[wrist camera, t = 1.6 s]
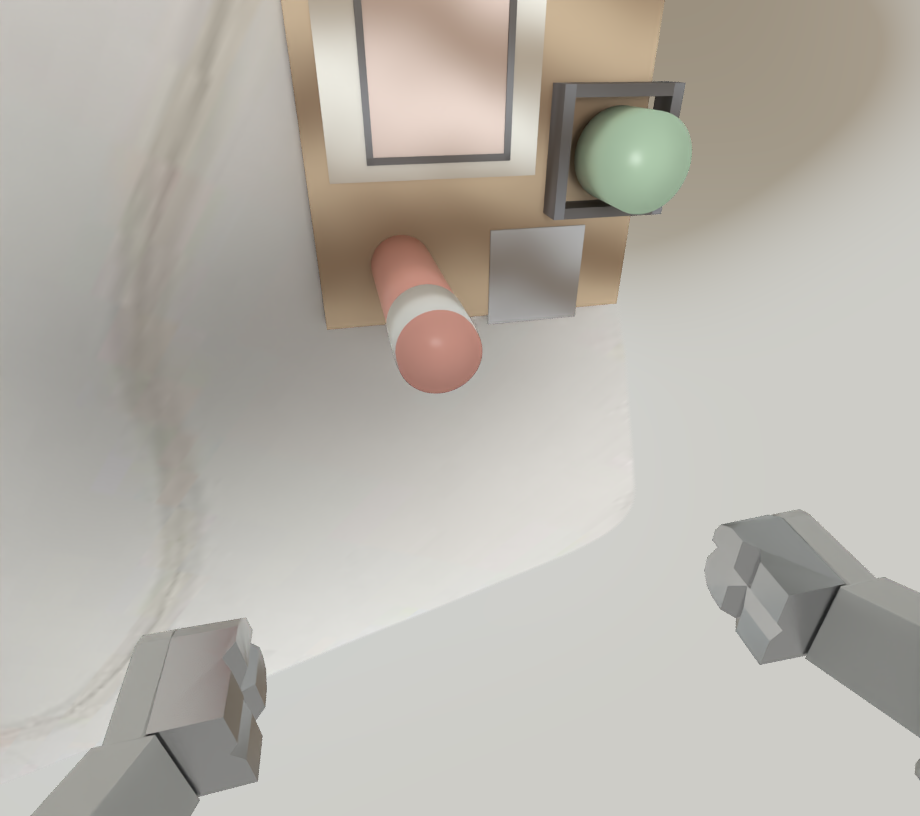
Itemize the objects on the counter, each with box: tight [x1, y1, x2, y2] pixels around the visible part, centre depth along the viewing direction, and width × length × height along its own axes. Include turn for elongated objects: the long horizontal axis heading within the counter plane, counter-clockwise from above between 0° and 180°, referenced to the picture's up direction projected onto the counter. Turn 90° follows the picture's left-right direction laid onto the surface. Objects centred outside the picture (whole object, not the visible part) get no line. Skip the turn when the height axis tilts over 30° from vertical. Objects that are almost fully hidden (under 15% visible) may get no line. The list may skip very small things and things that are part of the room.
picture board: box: [281, 0, 685, 330], centre depth 25 cm, size 20×17×3 cm
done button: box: [574, 105, 692, 214], centre depth 24 cm, size 4×4×3 cm
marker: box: [371, 235, 482, 393], centre depth 23 cm, size 3×3×10 cm
